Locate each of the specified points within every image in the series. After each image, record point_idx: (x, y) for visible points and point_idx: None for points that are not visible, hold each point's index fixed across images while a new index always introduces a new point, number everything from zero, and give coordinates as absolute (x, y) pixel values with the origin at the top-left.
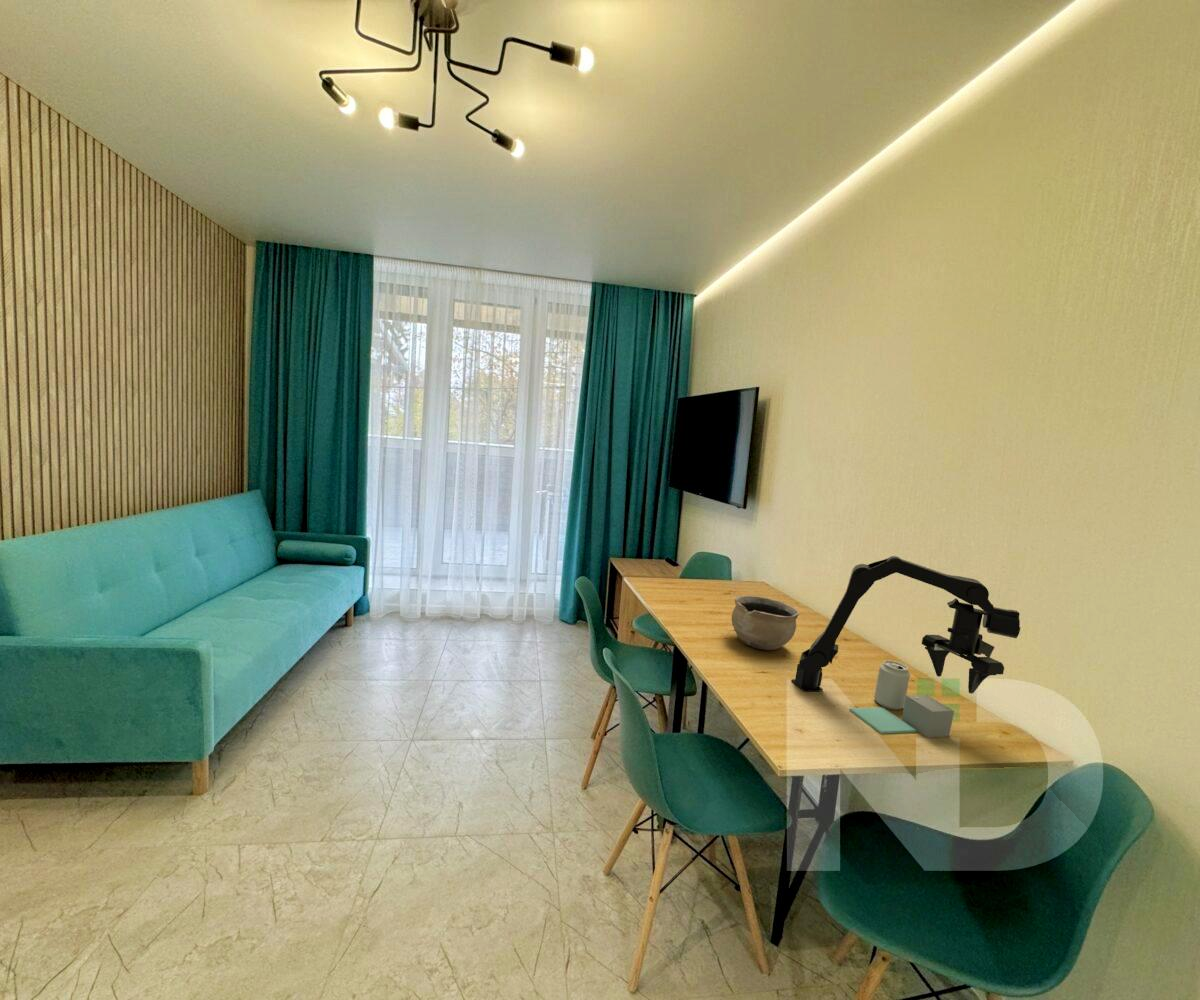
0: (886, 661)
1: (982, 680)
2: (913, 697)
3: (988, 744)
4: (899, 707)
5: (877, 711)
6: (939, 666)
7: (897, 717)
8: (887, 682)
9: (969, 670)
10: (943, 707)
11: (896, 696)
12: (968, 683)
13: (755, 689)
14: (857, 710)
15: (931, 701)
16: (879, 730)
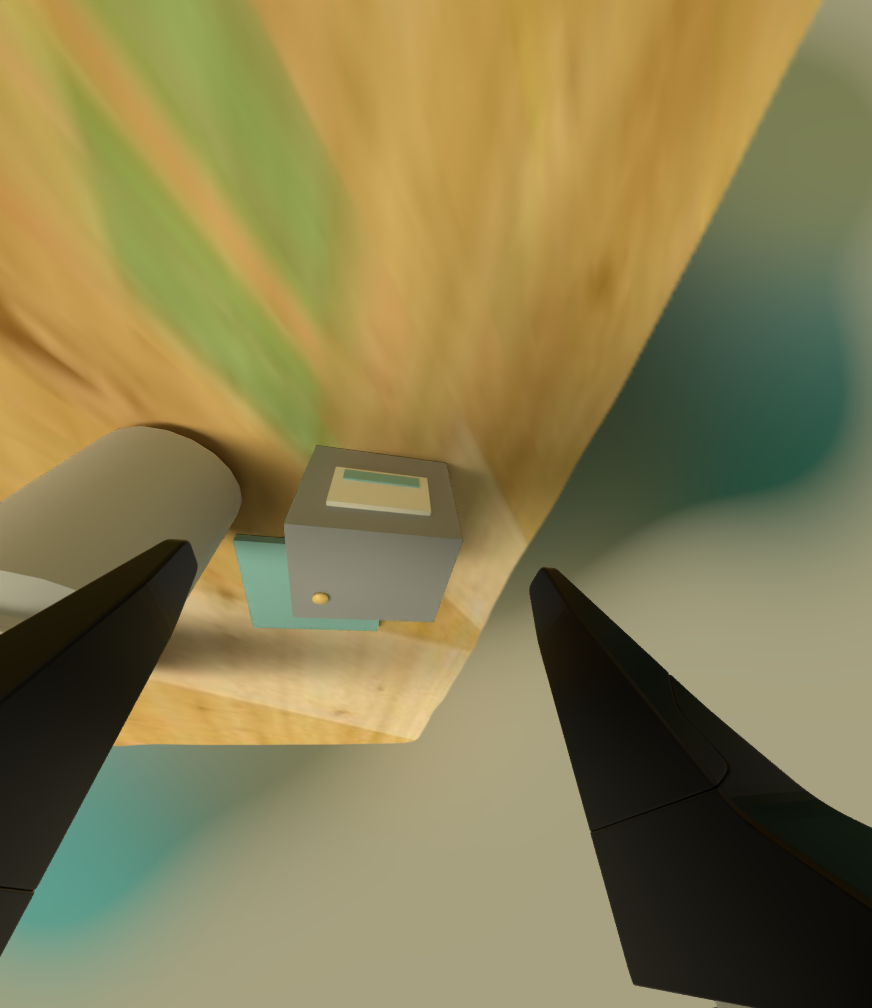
0: None
1: (709, 726)
2: (311, 603)
3: (554, 336)
4: (239, 496)
5: (269, 576)
6: (109, 685)
7: None
8: None
9: (625, 936)
10: (422, 559)
11: (215, 548)
12: (553, 695)
13: (169, 715)
14: (265, 618)
15: (358, 561)
16: (371, 630)
